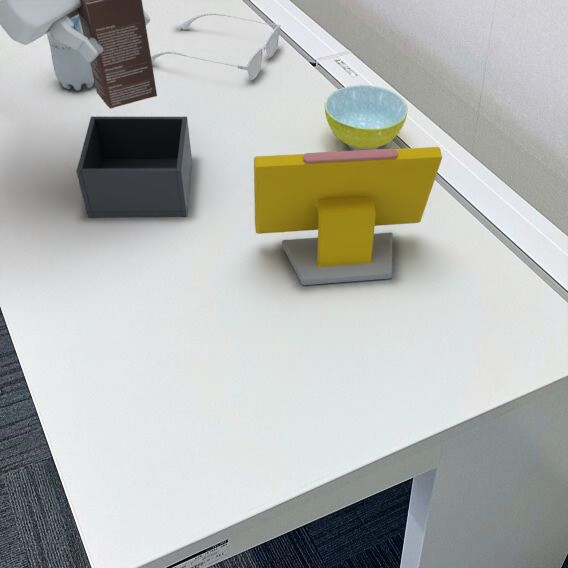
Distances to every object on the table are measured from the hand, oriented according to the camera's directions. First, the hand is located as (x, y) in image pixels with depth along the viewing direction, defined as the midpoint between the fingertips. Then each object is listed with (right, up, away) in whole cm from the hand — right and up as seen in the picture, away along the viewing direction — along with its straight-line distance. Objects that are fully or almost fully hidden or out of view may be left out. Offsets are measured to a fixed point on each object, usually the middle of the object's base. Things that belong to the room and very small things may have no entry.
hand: (121, 41), depth 84 cm
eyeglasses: (+3, +14, +42) cm, 44 cm away
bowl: (+27, -4, +26) cm, 38 cm away
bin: (-2, -12, +17) cm, 21 cm away
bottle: (-16, +7, +34) cm, 38 cm away
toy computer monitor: (+24, -23, +9) cm, 34 cm away
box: (-1, -4, +5) cm, 7 cm away
